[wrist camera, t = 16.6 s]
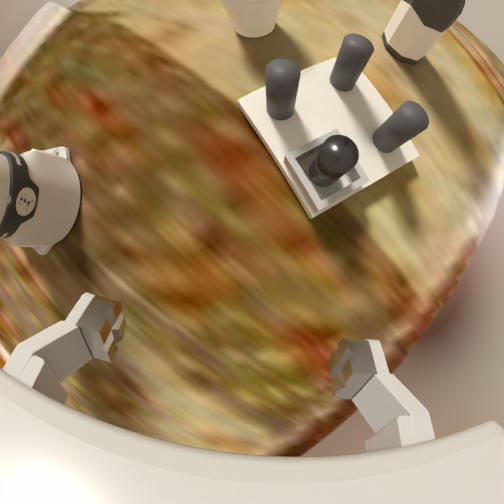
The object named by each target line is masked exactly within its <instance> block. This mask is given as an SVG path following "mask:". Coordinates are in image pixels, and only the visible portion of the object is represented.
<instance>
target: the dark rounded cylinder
mask: <svg viewBox="0 0 504 504" xmlns="http://www.w3.org/2000/svg"><path fill="white" fill-rule="evenodd" d="M358 159H359V151H358V148H357V146H356V144H355V143H354V142H353V141H352V140H351V139H350V138H349V137H347V136H344V135H338V134H337V135H332V136H330V137H328V138H327V139H326V140H325V142H324V143H323V145H322V147H321V148H320V150H319V152H318V153H317V155H316V157H315V159H314V160H313V162H312V164H311V165H310V167H309V177H310V179H311V181H312V182H313V183H314V184H315V185H317V186H319V187H328V186H330V185H332V184H333V183H334V182H336V181H337V180H338V179H339V178H341V177H342V176H343V175H344V174H346V173H347V172H348V171H349V170H351V169H352V168H353V167H354V166H355V165H356V164H357V162H358Z"/></svg>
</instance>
